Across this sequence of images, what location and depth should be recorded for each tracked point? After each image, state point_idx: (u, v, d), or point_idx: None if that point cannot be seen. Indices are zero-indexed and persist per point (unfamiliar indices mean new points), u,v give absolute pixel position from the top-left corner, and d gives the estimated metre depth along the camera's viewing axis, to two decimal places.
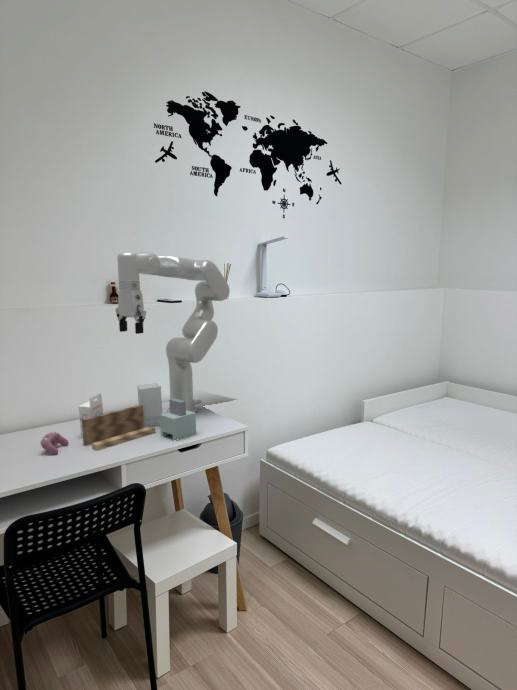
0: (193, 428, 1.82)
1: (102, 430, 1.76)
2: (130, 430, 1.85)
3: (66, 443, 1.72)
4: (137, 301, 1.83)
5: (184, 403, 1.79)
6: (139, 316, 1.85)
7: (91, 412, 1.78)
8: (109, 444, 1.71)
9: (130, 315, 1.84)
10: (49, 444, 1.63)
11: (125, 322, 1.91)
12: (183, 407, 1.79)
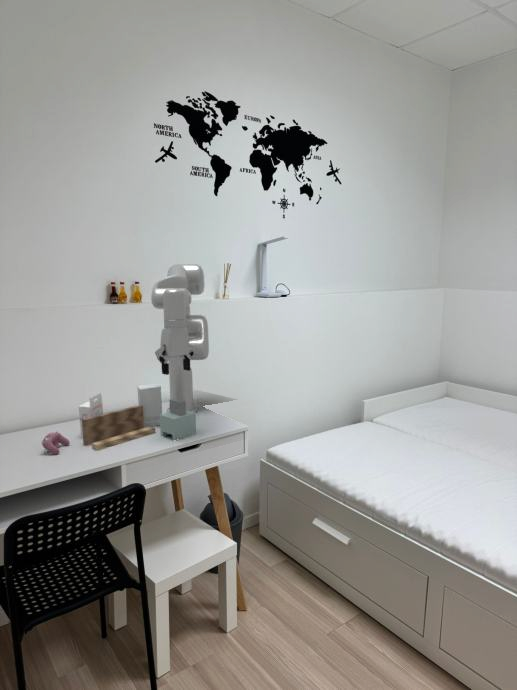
0: (193, 428, 1.82)
1: (102, 430, 1.76)
2: (130, 430, 1.85)
3: (67, 443, 1.72)
4: None
5: (184, 403, 1.79)
6: None
7: (91, 412, 1.78)
8: (109, 444, 1.71)
9: (185, 353, 1.78)
10: (50, 444, 1.63)
11: None
12: (183, 407, 1.79)
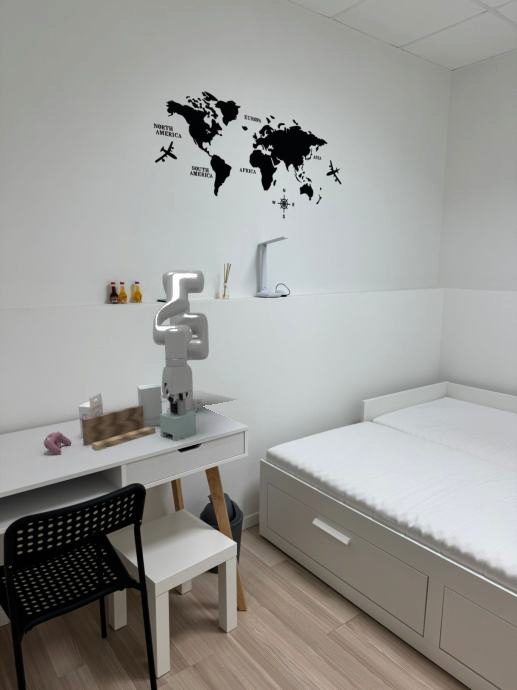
0: (193, 428, 1.82)
1: (102, 430, 1.76)
2: (130, 430, 1.85)
3: (69, 443, 1.72)
4: None
5: (184, 403, 1.79)
6: (180, 392, 1.82)
7: (91, 412, 1.78)
8: (109, 444, 1.71)
9: (186, 390, 1.80)
10: (52, 444, 1.63)
11: None
12: (183, 407, 1.79)
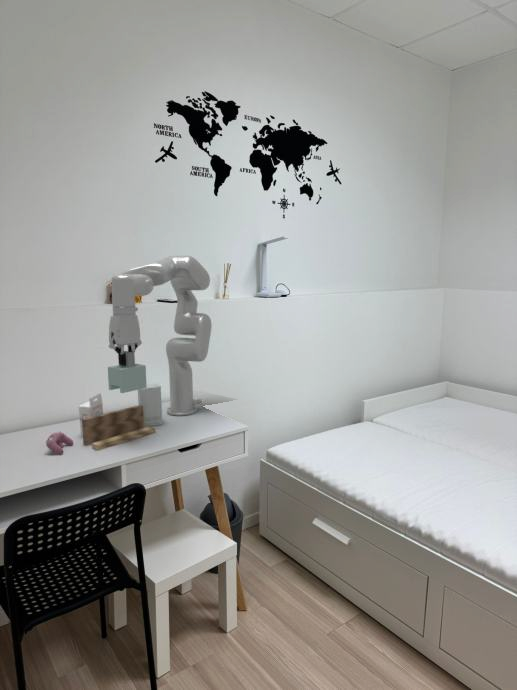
0: (143, 381, 1.74)
1: (102, 430, 1.76)
2: (130, 430, 1.85)
3: (71, 443, 1.72)
4: None
5: (133, 354, 1.71)
6: (129, 344, 1.75)
7: (91, 412, 1.78)
8: (109, 444, 1.71)
9: (135, 341, 1.73)
10: (54, 444, 1.63)
11: None
12: (131, 358, 1.71)
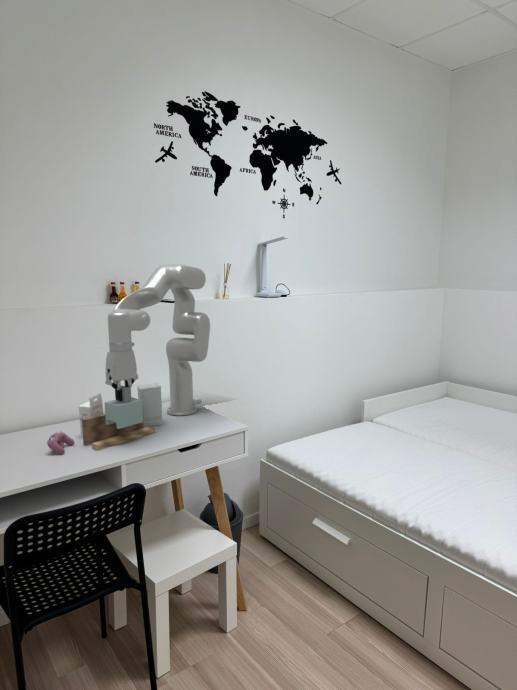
0: (139, 416, 1.76)
1: (102, 430, 1.76)
2: (130, 430, 1.85)
3: (72, 443, 1.72)
4: None
5: (129, 390, 1.73)
6: (126, 379, 1.76)
7: (91, 412, 1.78)
8: (109, 444, 1.71)
9: (132, 376, 1.74)
10: (55, 444, 1.63)
11: None
12: (128, 394, 1.73)
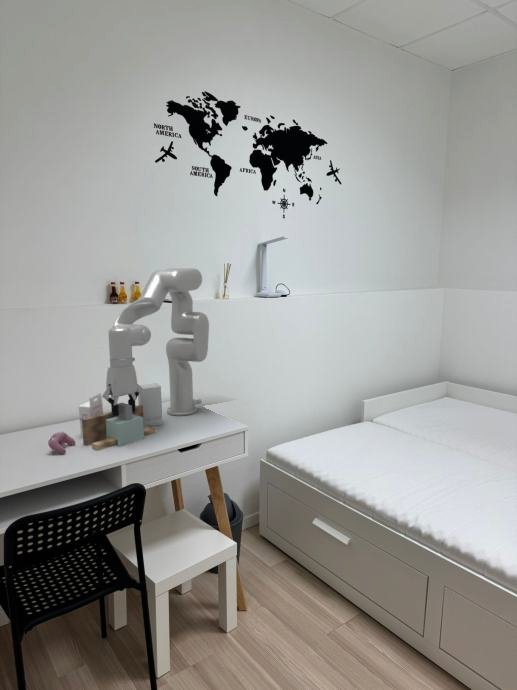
0: (140, 433, 1.77)
1: (102, 430, 1.76)
2: None
3: (73, 443, 1.72)
4: None
5: (130, 407, 1.74)
6: None
7: (91, 412, 1.78)
8: (109, 444, 1.71)
9: (132, 391, 1.75)
10: (57, 444, 1.63)
11: None
12: (129, 412, 1.74)
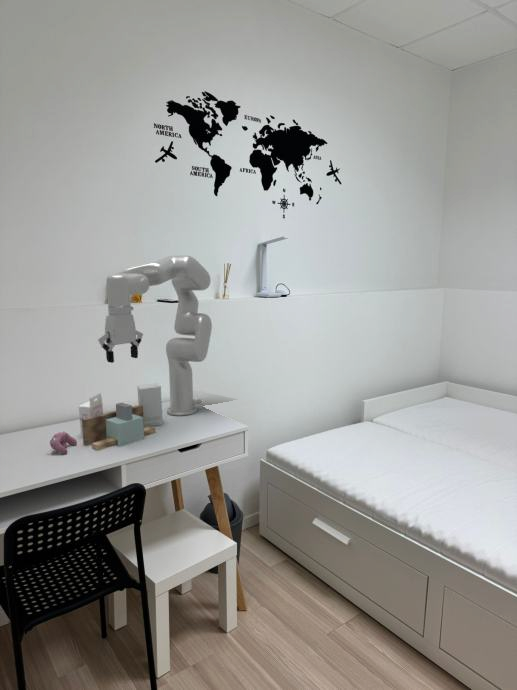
0: (140, 433, 1.77)
1: (102, 430, 1.76)
2: None
3: (74, 443, 1.72)
4: None
5: (130, 407, 1.74)
6: None
7: (91, 412, 1.78)
8: (109, 444, 1.71)
9: (131, 340, 1.74)
10: (58, 444, 1.63)
11: None
12: (129, 412, 1.74)
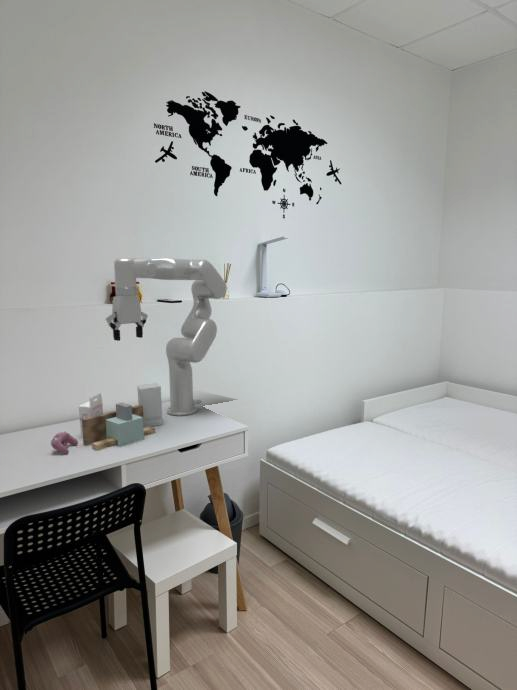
0: (140, 433, 1.77)
1: (102, 430, 1.76)
2: None
3: (76, 443, 1.72)
4: None
5: (130, 407, 1.74)
6: None
7: (91, 412, 1.78)
8: (109, 444, 1.71)
9: (137, 320, 1.85)
10: (59, 444, 1.63)
11: None
12: (129, 412, 1.74)
